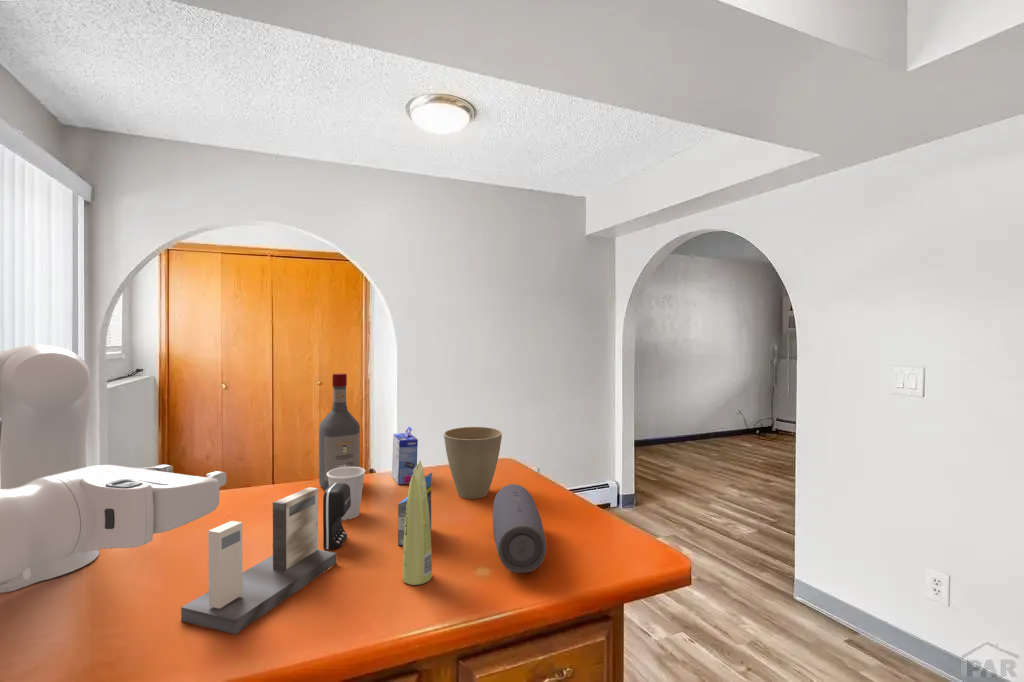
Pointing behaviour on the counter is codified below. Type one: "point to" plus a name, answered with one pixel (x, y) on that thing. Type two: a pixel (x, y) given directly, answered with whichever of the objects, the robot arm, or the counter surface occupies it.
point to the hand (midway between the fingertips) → (195, 473)
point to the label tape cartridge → (402, 511)
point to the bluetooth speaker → (518, 529)
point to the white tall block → (225, 563)
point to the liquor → (338, 434)
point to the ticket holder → (272, 568)
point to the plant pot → (472, 458)
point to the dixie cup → (355, 482)
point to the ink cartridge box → (404, 456)
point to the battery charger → (335, 514)
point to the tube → (417, 532)
